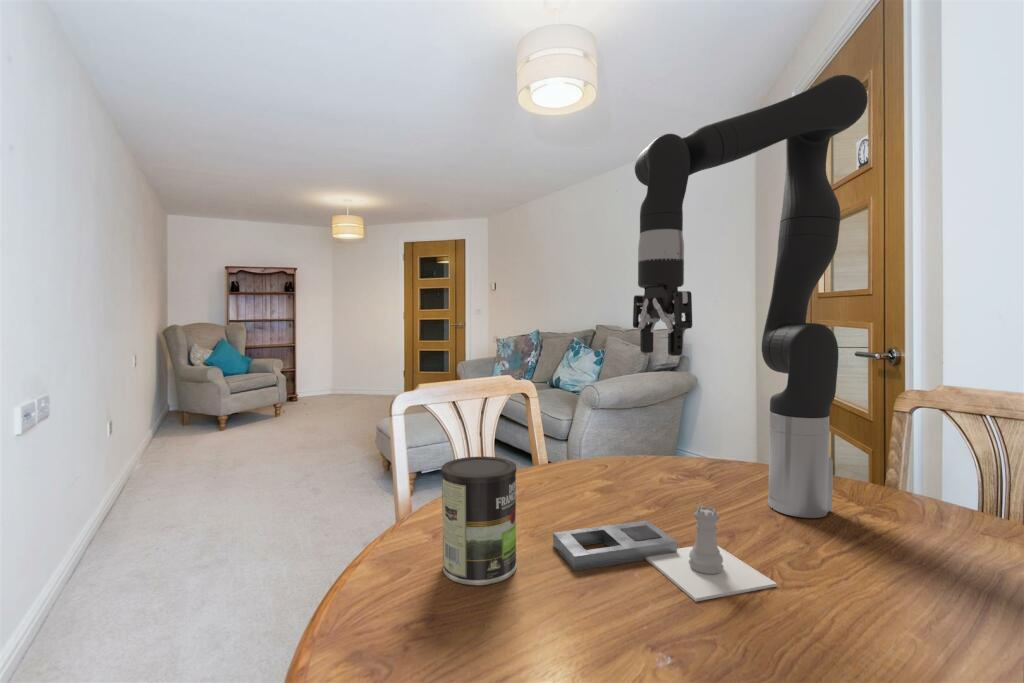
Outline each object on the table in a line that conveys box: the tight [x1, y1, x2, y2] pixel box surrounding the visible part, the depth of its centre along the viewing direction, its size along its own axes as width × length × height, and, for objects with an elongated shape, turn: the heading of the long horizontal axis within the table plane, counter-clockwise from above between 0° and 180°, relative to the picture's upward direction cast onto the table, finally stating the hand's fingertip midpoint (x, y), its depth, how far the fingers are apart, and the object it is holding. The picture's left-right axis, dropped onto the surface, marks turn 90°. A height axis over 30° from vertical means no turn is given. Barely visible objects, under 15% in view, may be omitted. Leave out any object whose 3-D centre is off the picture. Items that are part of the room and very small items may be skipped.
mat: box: [645, 545, 778, 603], centre depth 67 cm, size 12×12×1 cm
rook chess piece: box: [689, 505, 724, 575], centre depth 67 cm, size 4×4×8 cm
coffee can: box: [440, 456, 517, 586], centre depth 69 cm, size 10×10×14 cm
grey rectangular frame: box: [552, 519, 678, 572], centre depth 73 cm, size 16×8×2 cm, turn 106°
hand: (660, 354), depth 86 cm, fingers open, 8 cm apart
